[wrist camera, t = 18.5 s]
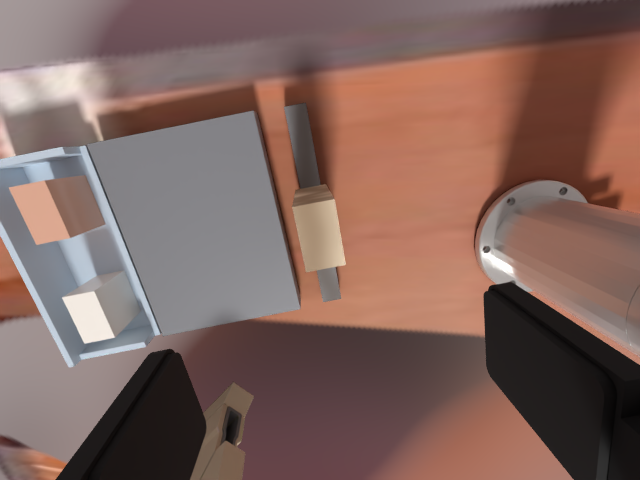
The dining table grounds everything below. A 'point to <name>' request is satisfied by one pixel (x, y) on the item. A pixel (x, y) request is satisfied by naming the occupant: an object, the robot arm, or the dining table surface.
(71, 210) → the tile terracotta
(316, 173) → the scraper
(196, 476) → the gun
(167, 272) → the board
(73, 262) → the box
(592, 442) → the robot arm
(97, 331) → the tile cream
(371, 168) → the dining table surface
